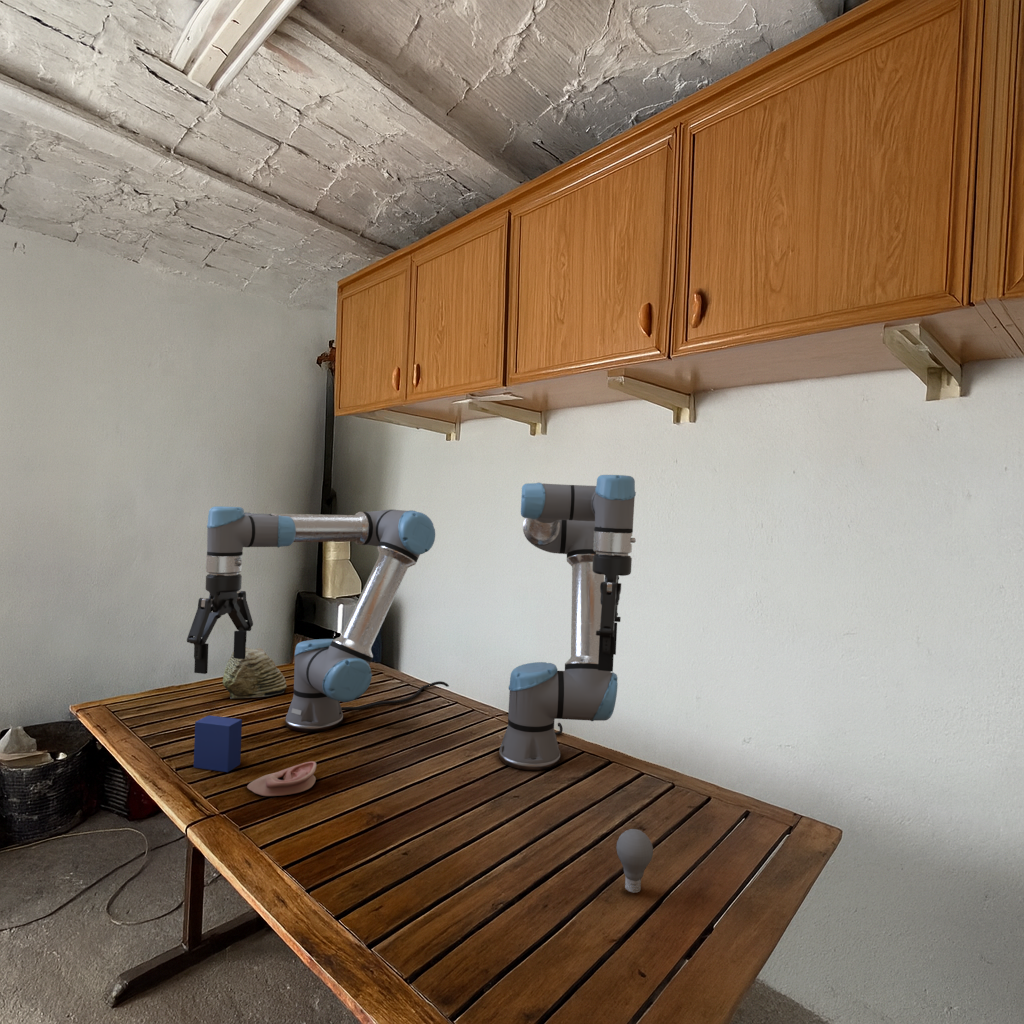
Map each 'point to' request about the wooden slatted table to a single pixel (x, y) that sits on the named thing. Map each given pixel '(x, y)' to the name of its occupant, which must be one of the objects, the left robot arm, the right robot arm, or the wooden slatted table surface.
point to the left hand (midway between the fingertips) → (220, 665)
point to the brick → (217, 743)
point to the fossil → (253, 676)
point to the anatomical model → (285, 781)
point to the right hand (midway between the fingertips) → (607, 661)
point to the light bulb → (634, 857)
